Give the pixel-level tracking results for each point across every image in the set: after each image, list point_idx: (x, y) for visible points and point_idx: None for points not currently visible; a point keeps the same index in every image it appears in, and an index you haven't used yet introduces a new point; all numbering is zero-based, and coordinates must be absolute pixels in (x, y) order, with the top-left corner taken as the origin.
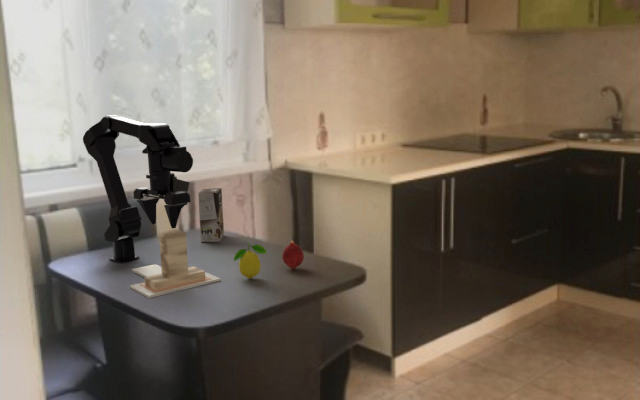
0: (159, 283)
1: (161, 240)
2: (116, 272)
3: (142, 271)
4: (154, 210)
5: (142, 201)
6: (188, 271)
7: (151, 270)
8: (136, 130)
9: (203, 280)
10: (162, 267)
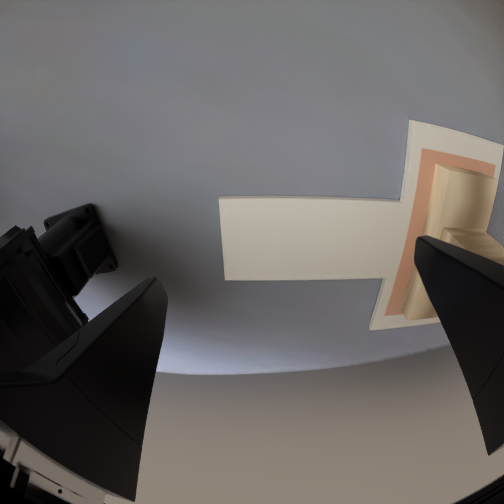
0: None
1: None
2: (207, 308)
3: (279, 268)
4: (108, 357)
5: (133, 498)
6: (469, 215)
7: (291, 243)
8: None
9: None
10: None
